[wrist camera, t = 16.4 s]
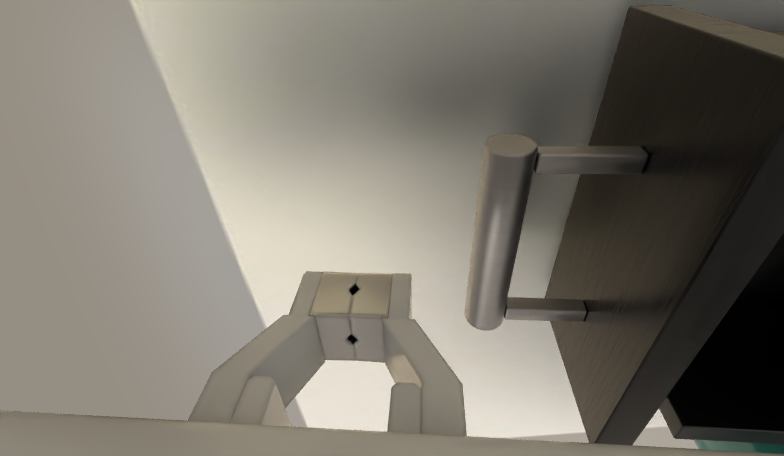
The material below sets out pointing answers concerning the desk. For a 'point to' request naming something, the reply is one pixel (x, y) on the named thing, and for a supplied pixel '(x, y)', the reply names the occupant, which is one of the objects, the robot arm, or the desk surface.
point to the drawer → (659, 236)
